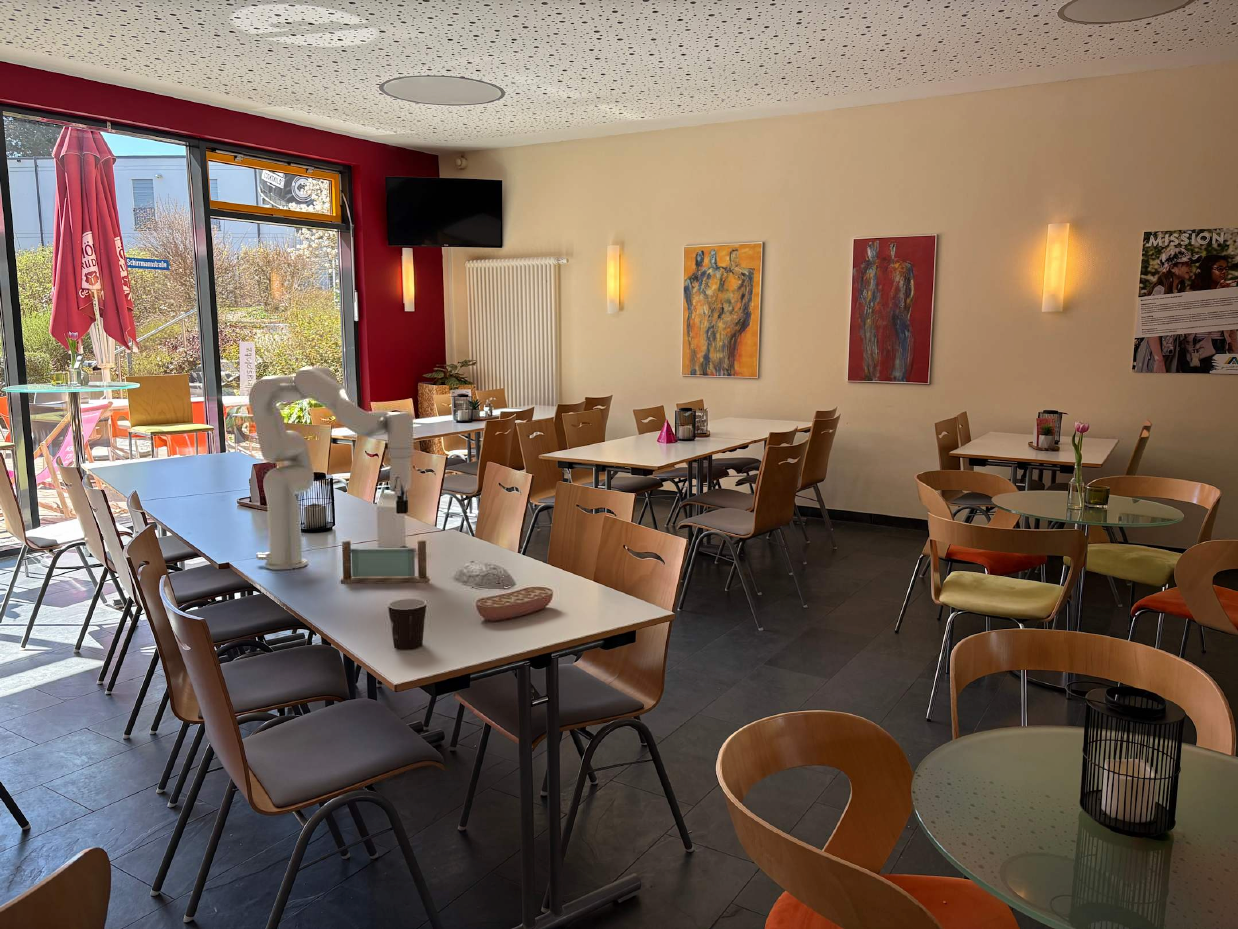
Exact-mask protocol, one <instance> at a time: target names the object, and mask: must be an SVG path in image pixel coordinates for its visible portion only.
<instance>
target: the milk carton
mask: <svg viewBox="0 0 1238 929" xmlns="http://www.w3.org/2000/svg"><path fill="white" fill-rule="evenodd" d="M376 527H377V528H376V529H377V530H376V531H377V532H376V533H377V534H376V536H377V548H403V547H404V546H406V544H407V543H406V514H397V513H396V493H391V492H390V493H389V492H388V493H387V492H380V497H379V500H378V502H377V504H376Z"/></svg>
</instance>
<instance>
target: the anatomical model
mask: <svg viewBox="0 0 1238 929" xmlns="http://www.w3.org/2000/svg"><path fill="white" fill-rule="evenodd" d="M553 597H554V591H553V589H551V588H550V587H545V586H529V587H523V588H521V589H517V590H515V591H510V592H507V593H506V592H505V593H501V594H497V595H491V596H490V595H489V596H485V597H481V598H479V599H477V600H475V608H476V611H477V613H478V614H479V615H480V616H481V617H482V618H483V619H484V620H487V621H489V622H490V621H491V622H496V621H497V622H498V621H503V620H508V618H509V619H513V618H516V617H521V616H525V615H528V614H531V613H534V612H537V611H540V610H542V609H545V608H546V607H547V606H549V604H550V603H551V601H552V599H553Z"/></svg>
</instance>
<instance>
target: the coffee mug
mask: <svg viewBox="0 0 1238 929" xmlns="http://www.w3.org/2000/svg"><path fill="white" fill-rule="evenodd" d="M387 608H388V615H389V622H390V627H391V628H390V629H391V635H392V642H393V648H394V649H395V650H398V651H413V650H417V649H419V648H421V647H422V646H423V641H424V640H423V639H424V633H425V632H424V630H425V629H424V628H425V624H426V623H425V622H426V612H427V601H425V600H424V599H420V598H401V599H395V600H393V601H390V602H389V603H387Z"/></svg>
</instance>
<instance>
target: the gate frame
mask: <svg viewBox="0 0 1238 929" xmlns="http://www.w3.org/2000/svg"><path fill="white" fill-rule="evenodd" d="M351 544H352V543H351V540H344V541H341V550H342V554H341V555H342V556H341V557H342V578H341V579H340V584H383V583H384V584H386V583H387V582H388V583H387V584H389V582H424V583H428V582H429V579H430V578H429V576H430V575H428V574H427V570H428V569H427V540H424V539H423V540H422V539H421V540H418V541H417V574H418V575H415V576H414V577H408V576H406V577H352V554H351V553H350V549H351V548H352V546H351Z"/></svg>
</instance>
